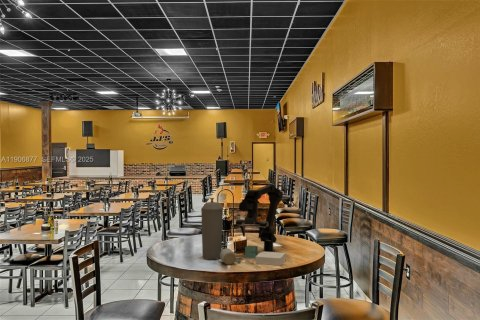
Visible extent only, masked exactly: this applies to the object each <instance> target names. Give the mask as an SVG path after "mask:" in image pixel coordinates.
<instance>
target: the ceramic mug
mask: <svg viewBox="0 0 480 320" xmlns="http://www.w3.org/2000/svg"><path fill="white" fill-rule="evenodd" d="M219 259H220V260H221V261H222V262H223V263H224V264H226V265H228V266H229V265H233V264H234V263H237V264H240V263H241V260H240V259H239V258H237V257H236V254H235V252H234V251H232V249H230V248H224V249H222V250H221V253H220V258H219Z"/></svg>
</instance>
